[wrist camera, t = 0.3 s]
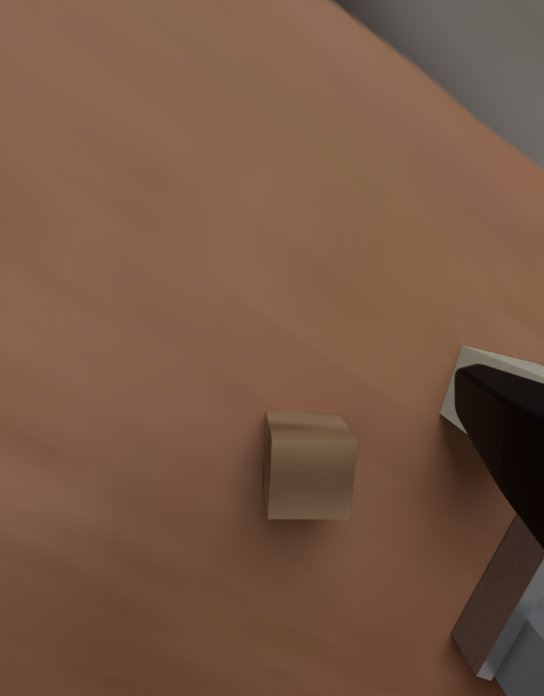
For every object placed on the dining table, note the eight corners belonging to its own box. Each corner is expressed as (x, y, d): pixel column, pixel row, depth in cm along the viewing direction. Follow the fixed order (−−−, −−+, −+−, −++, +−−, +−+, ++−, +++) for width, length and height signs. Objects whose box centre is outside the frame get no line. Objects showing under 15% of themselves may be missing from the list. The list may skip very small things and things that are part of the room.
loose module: (512, 430, 26) (653, 518, 17) (438, 413, 26) (546, 496, 17) (536, 362, 25) (696, 419, 17) (461, 344, 25) (587, 392, 16)
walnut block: (332, 479, 26) (349, 519, 22) (262, 478, 26) (267, 519, 22) (338, 412, 25) (357, 441, 21) (266, 410, 25) (272, 440, 21)
